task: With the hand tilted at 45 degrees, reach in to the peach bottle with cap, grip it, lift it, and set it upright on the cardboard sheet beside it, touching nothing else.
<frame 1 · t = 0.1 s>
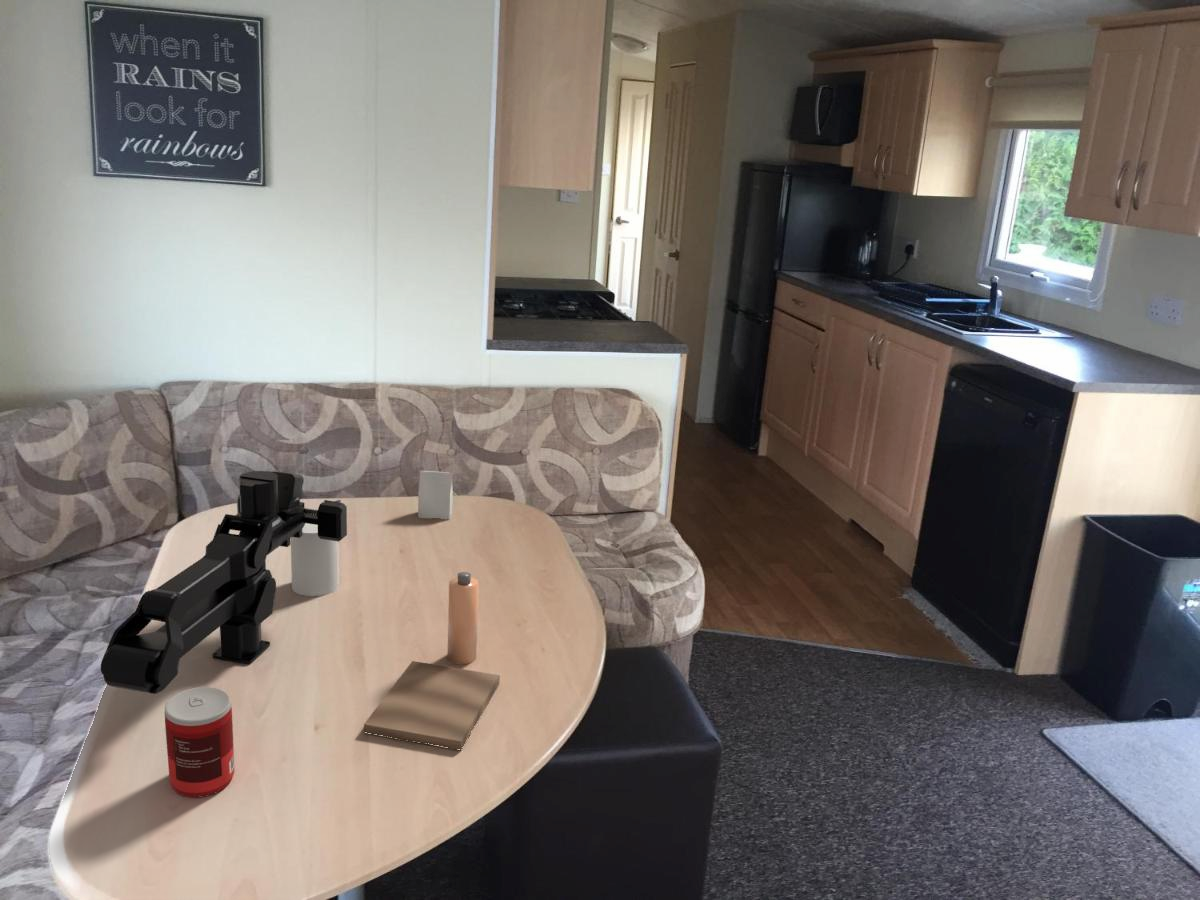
hand: (315, 499, 174), 17 cm above the table, tool horizontal, fingers open, 9 cm apart
peach bottle with cap: (461, 657, 159), on the table
cardboard sheet: (435, 707, 144), on the table
white cylinder: (315, 587, 179), on the table
light grey box: (435, 516, 215), on the table
canned food: (202, 780, 125), on the table
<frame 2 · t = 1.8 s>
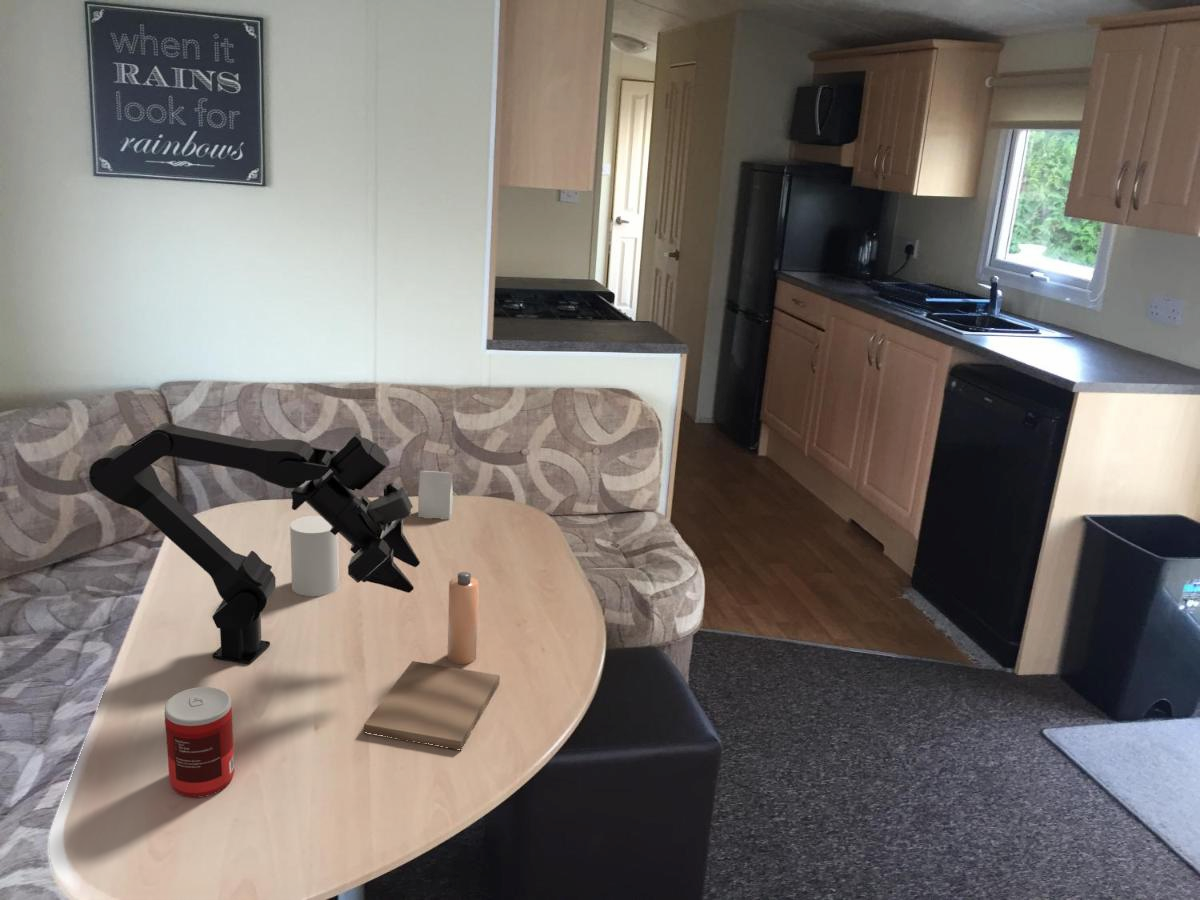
hand: (414, 577, 154), 14 cm above the table, tool tilted 45°, fingers open, 9 cm apart
nothing on the table moved.
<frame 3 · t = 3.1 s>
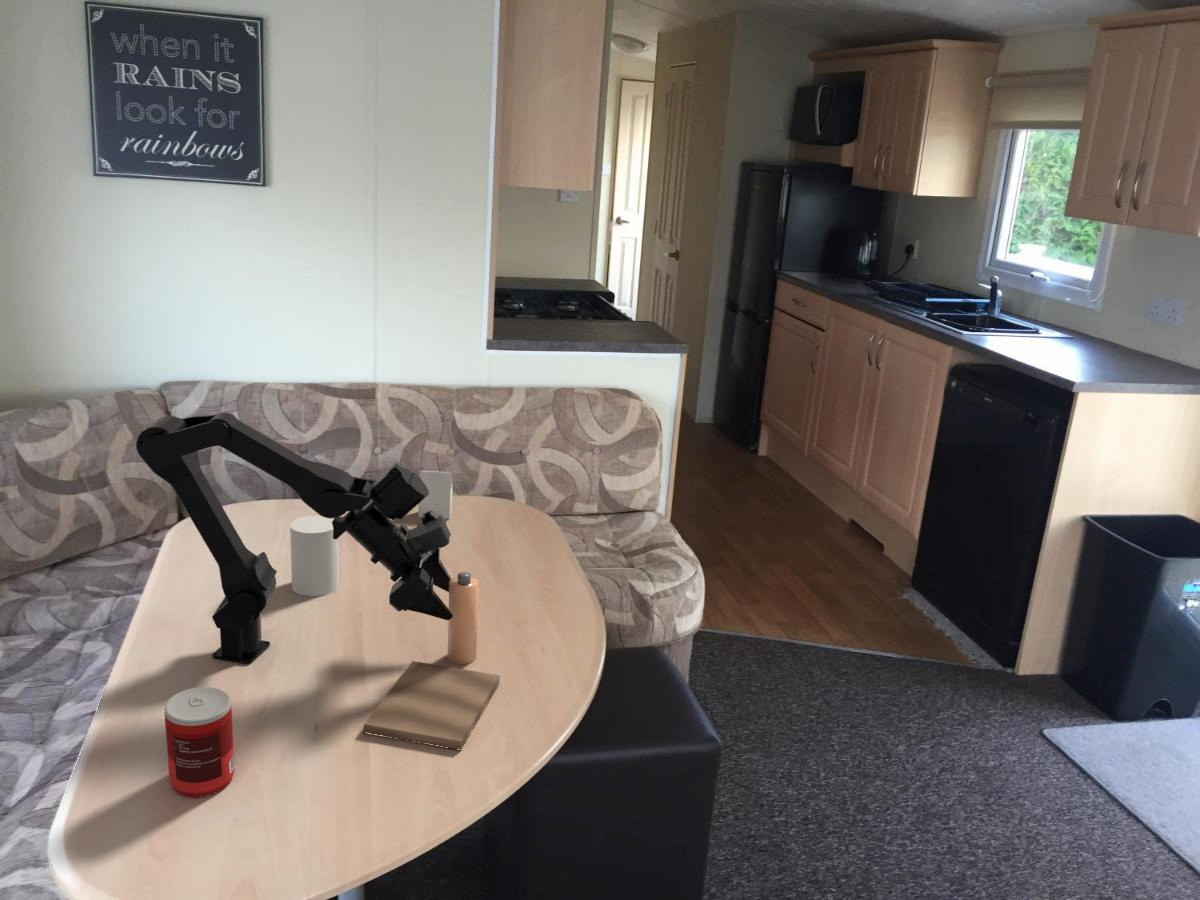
hand: (453, 604, 156), 9 cm above the table, tool tilted 45°, fingers open, 9 cm apart
nothing on the table moved.
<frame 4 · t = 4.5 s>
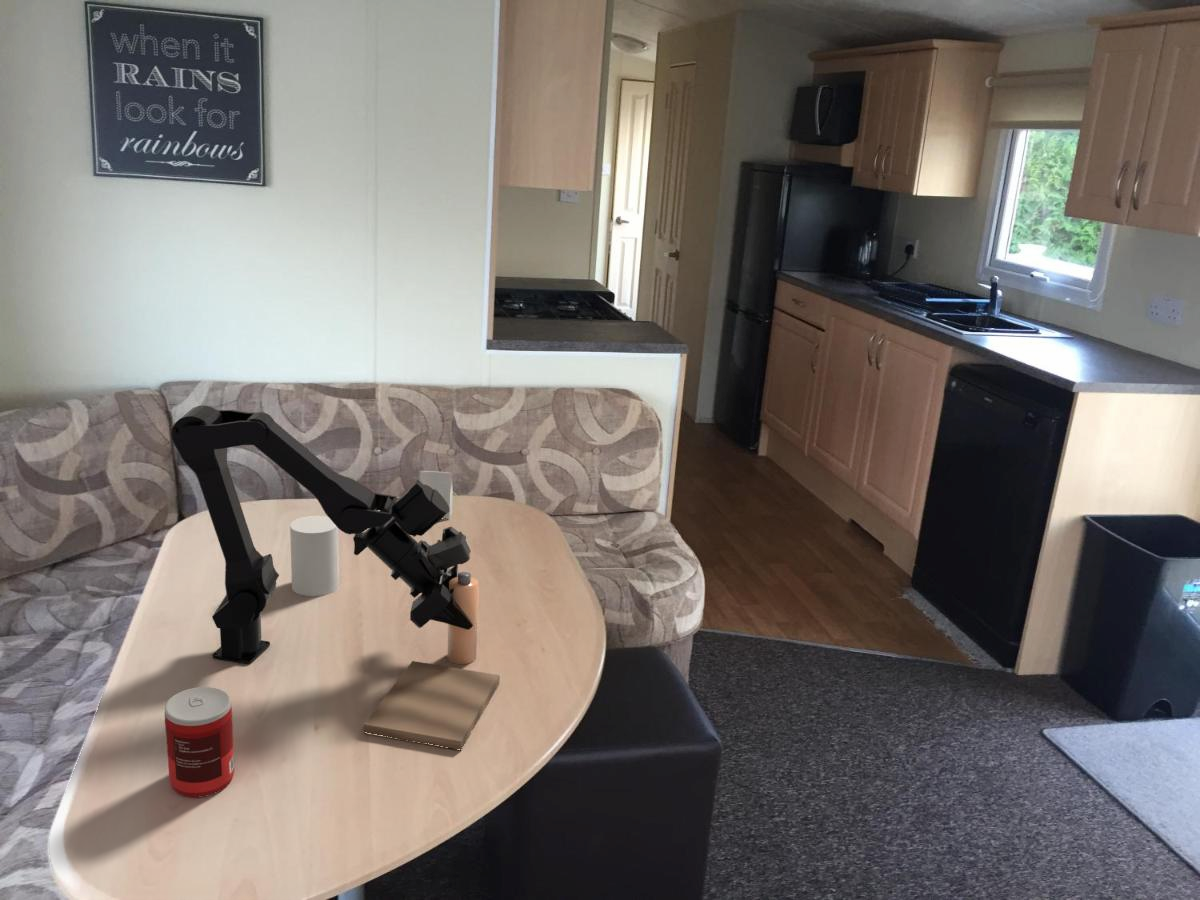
hand: (471, 620, 157), 7 cm above the table, tool tilted 45°, fingers closed on peach bottle with cap, 5 cm apart
peach bottle with cap: (462, 657, 159), on the table, touching gripper
everything else where it was.
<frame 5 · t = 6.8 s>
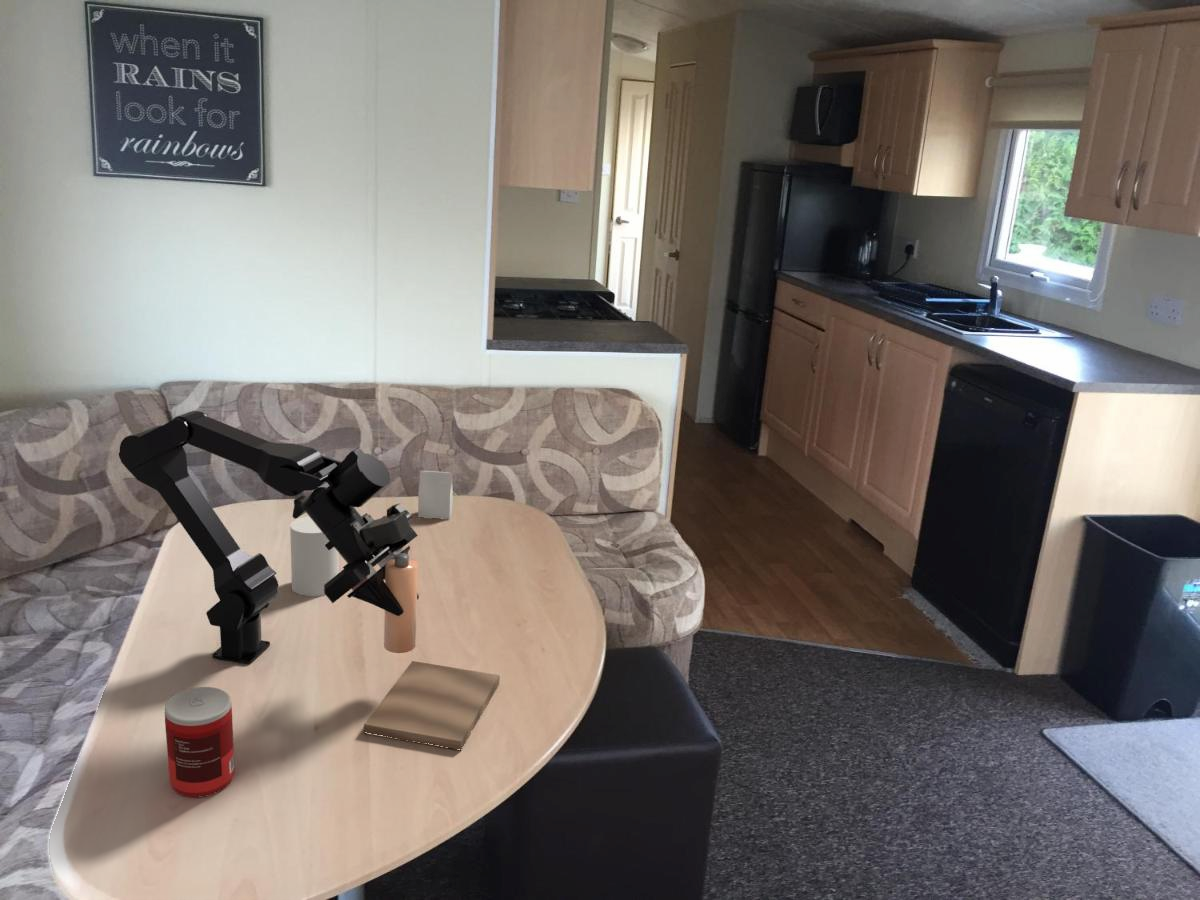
hand: (409, 607, 145), 13 cm above the table, tool tilted 45°, fingers closed on peach bottle with cap, 5 cm apart
peach bottle with cap: (399, 645, 147), point 7 cm above the table, touching gripper
everything else where it was.
when the fingers open (9 cm above the table, at t = 9.4 s): peach bottle with cap drops 1 cm, resting on cardboard sheet.
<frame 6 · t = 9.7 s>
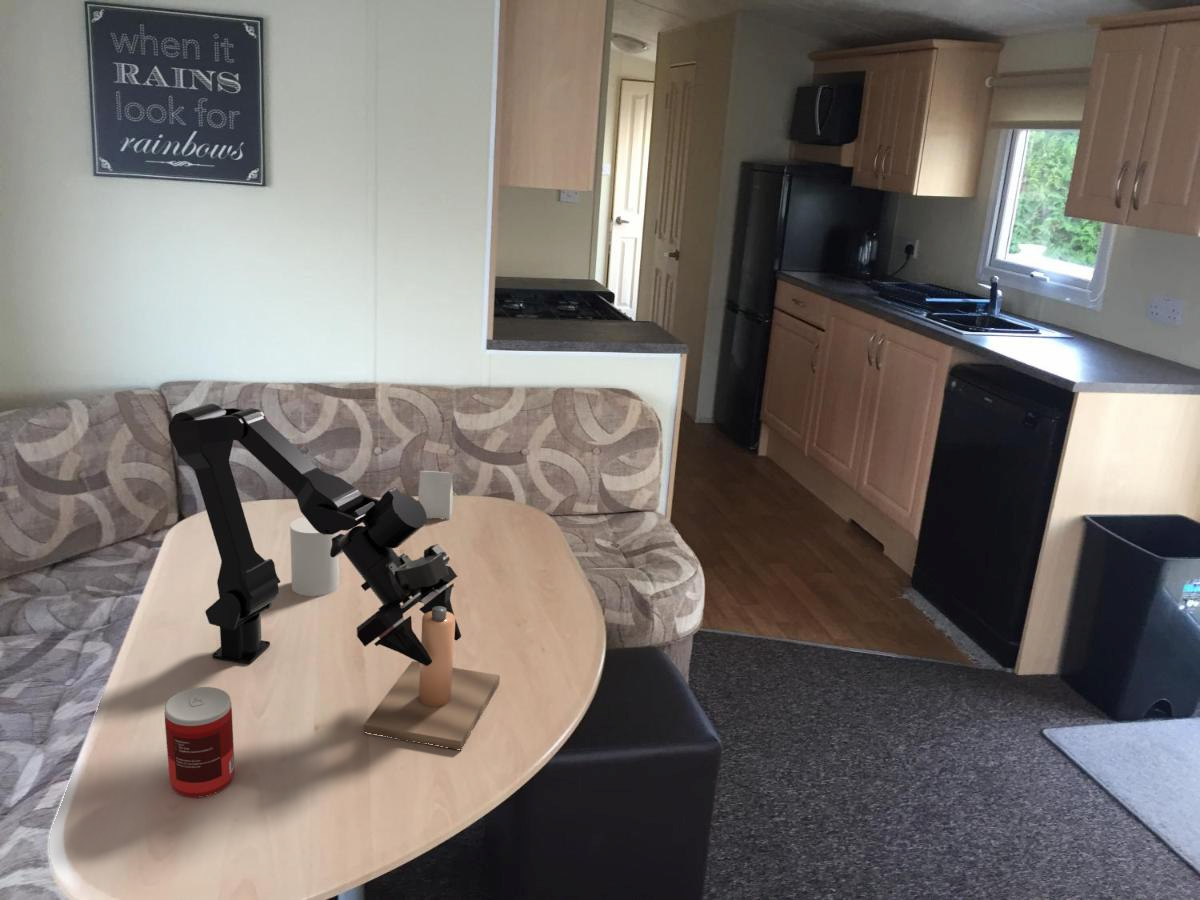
hand: (444, 651, 141), 10 cm above the table, tool tilted 45°, fingers open, 8 cm apart
peach bottle with cap: (434, 697, 144), point 2 cm above the table, touching cardboard sheet
everything else where it was.
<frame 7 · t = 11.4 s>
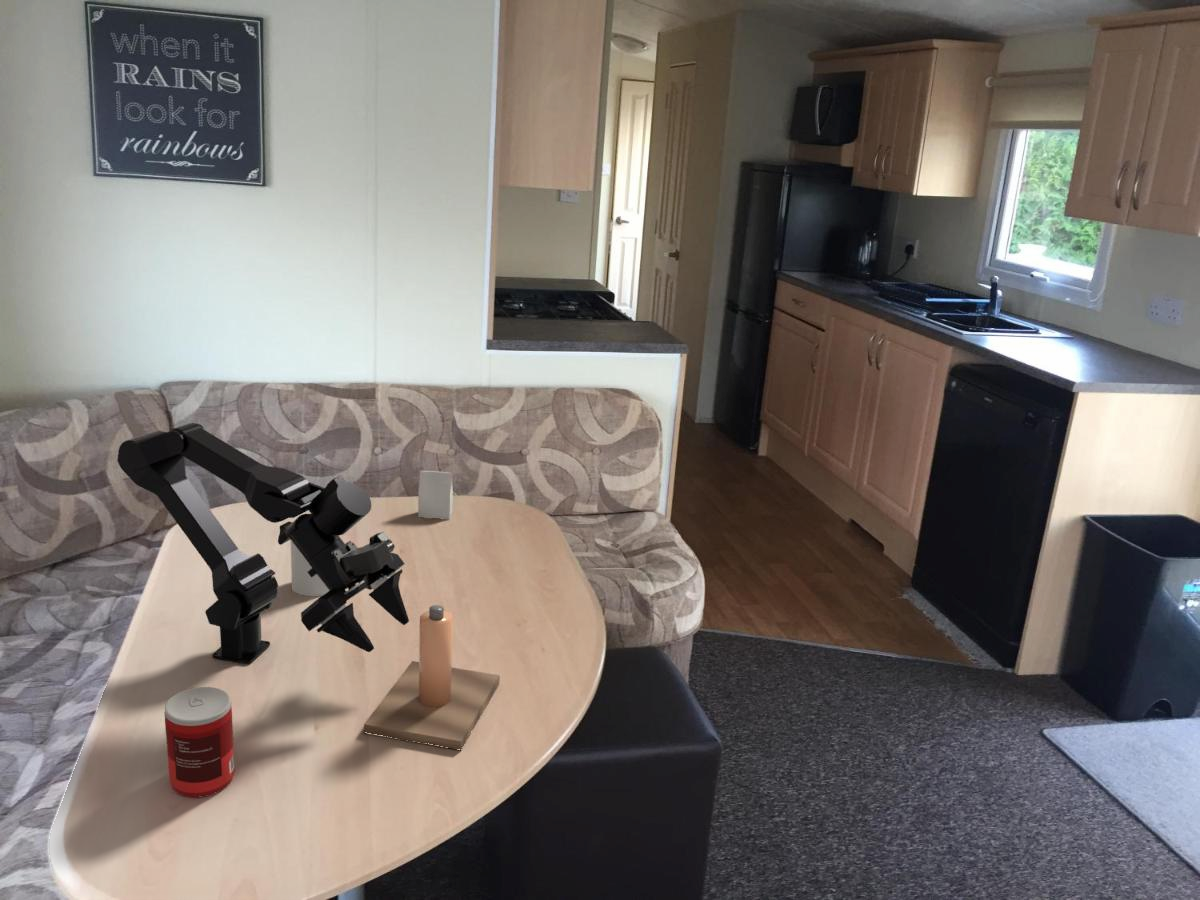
hand: (389, 636, 144), 10 cm above the table, tool tilted 45°, fingers open, 9 cm apart
nothing on the table moved.
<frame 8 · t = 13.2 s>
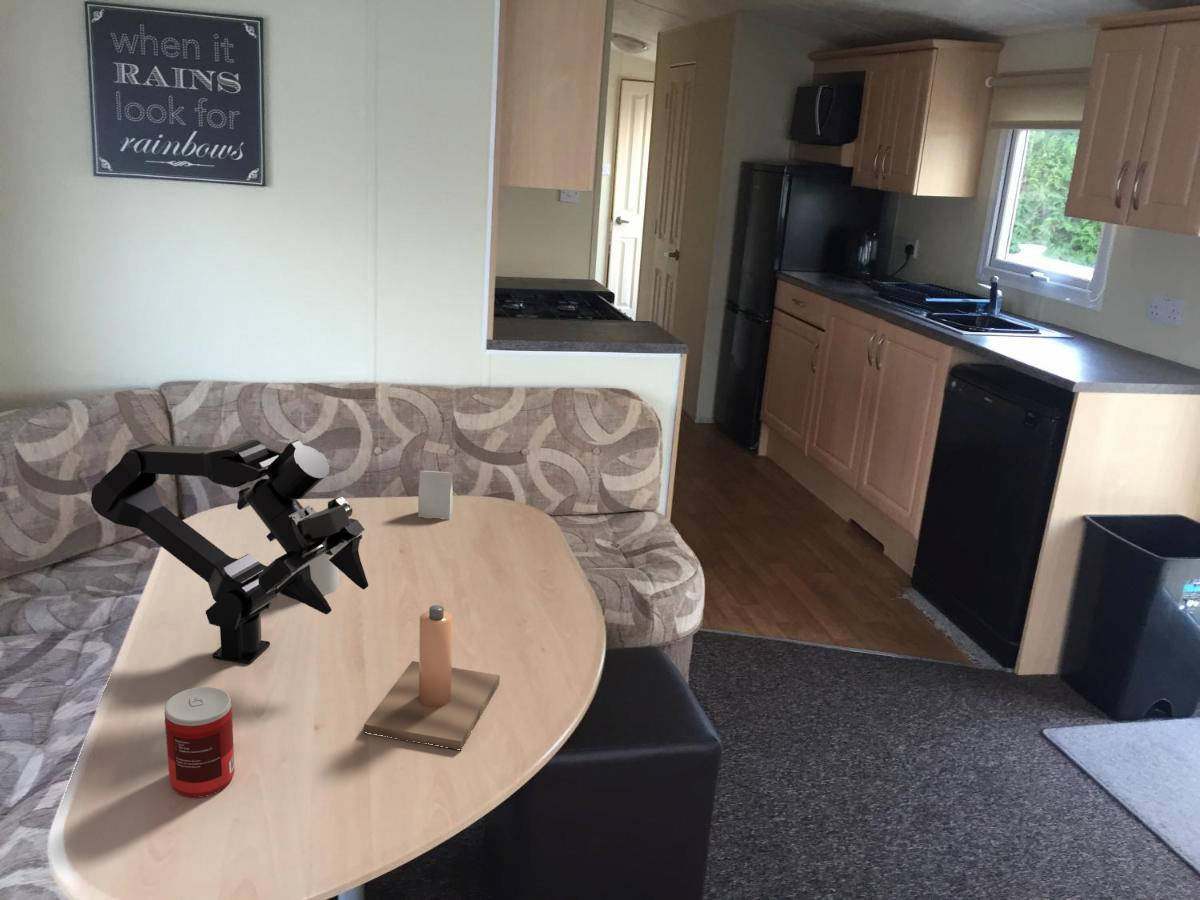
hand: (348, 599, 145), 14 cm above the table, tool tilted 45°, fingers open, 9 cm apart
nothing on the table moved.
at the end: peach bottle with cap inside the target area on the cardboard sheet (0.1 cm from its centre), point 1.5 cm above the cardboard sheet's base; peach bottle with cap tilted 0°; the gripper is holding nothing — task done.
